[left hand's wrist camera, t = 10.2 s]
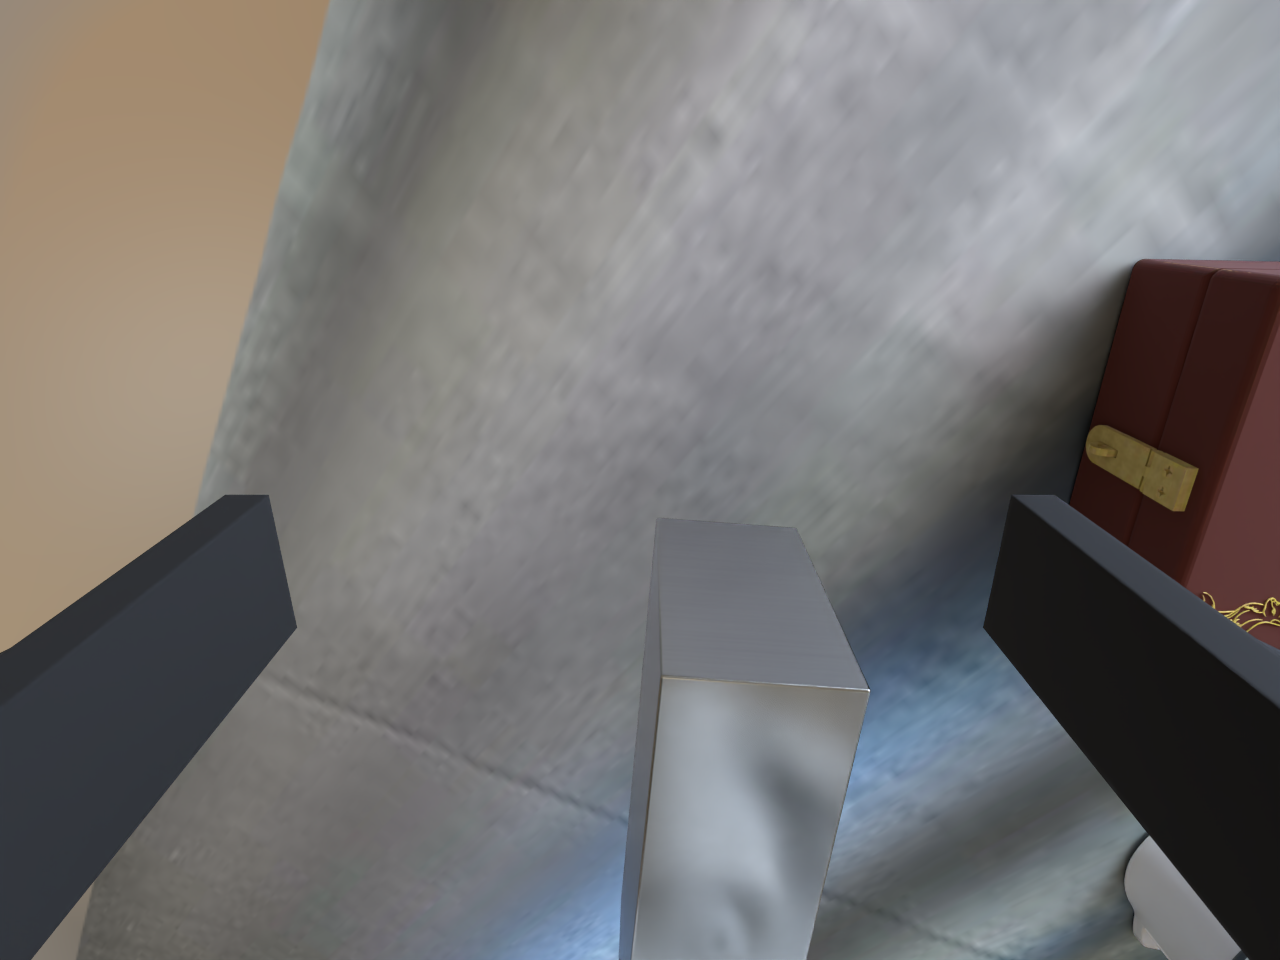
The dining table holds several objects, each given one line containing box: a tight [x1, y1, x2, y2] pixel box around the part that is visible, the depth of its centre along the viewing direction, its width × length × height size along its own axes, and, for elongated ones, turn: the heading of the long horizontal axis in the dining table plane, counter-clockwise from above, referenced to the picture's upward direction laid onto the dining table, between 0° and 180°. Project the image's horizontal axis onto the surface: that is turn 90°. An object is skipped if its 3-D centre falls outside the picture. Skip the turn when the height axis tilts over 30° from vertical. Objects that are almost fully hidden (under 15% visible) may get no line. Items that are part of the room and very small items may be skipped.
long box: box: [619, 518, 870, 960], centre depth 31 cm, size 24×6×12 cm, turn 176°
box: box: [1069, 259, 1280, 650], centre depth 39 cm, size 21×16×10 cm
